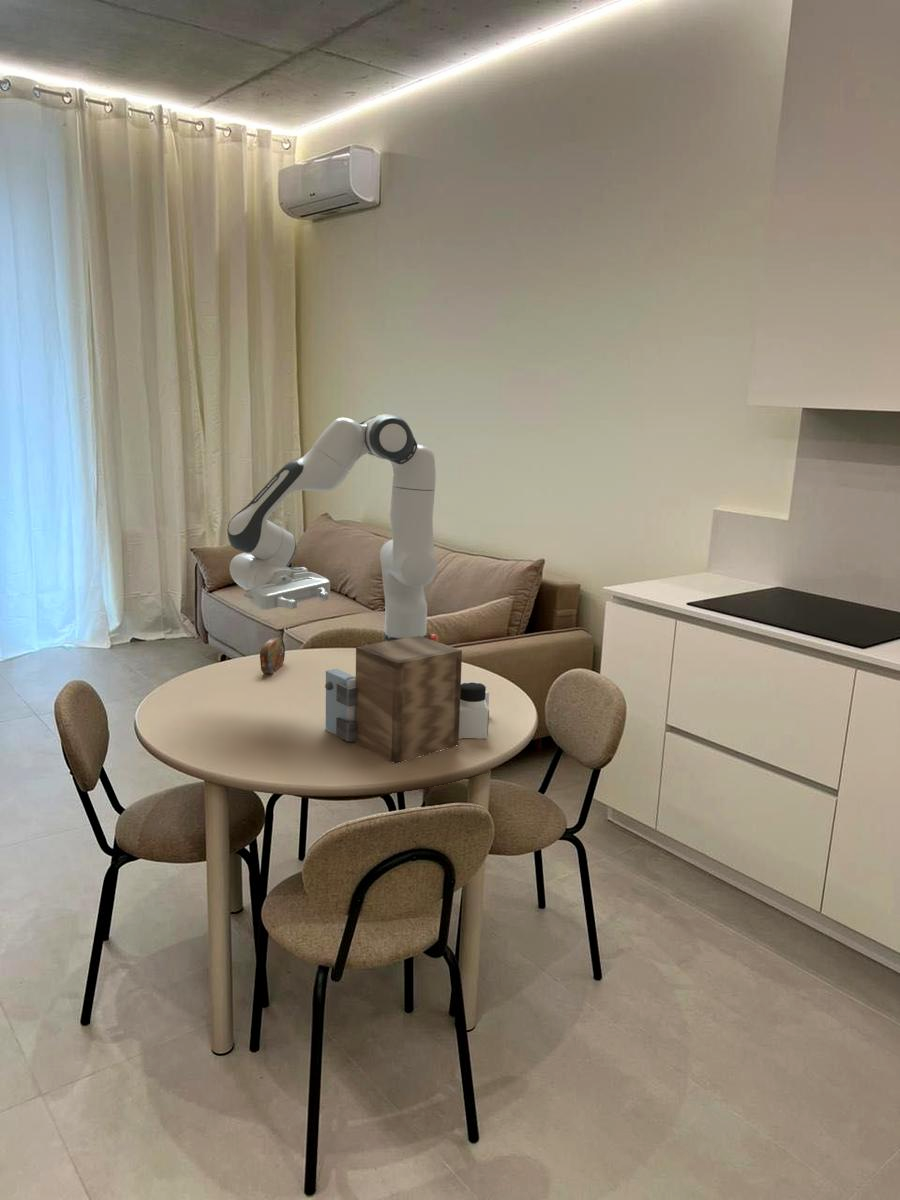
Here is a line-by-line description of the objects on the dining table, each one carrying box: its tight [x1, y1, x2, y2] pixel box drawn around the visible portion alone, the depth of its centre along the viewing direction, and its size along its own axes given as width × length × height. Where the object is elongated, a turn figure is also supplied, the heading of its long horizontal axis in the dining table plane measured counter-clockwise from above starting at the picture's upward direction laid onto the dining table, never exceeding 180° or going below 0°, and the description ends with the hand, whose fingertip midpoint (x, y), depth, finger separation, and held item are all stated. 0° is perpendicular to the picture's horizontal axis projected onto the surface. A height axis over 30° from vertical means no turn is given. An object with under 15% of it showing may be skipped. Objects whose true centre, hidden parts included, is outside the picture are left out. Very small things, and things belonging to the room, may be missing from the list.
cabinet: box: [335, 636, 463, 764], centre depth 197 cm, size 20×19×22 cm
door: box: [324, 668, 356, 742], centre depth 202 cm, size 10×4×14 cm, turn 41°
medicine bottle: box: [459, 681, 490, 740], centre depth 205 cm, size 7×7×12 cm
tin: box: [259, 637, 286, 675], centre depth 250 cm, size 15×3×8 cm, turn 173°
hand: (310, 601), depth 210 cm, fingers open, 8 cm apart
